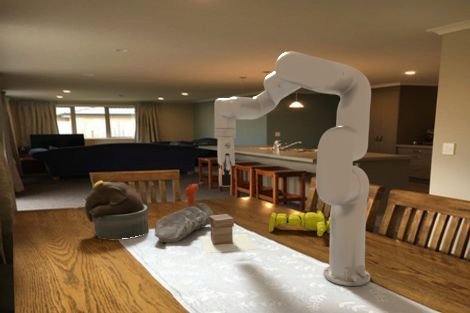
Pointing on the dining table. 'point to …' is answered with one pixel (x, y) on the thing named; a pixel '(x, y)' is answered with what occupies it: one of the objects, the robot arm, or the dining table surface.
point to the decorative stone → (182, 223)
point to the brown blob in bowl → (116, 211)
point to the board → (238, 244)
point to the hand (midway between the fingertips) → (225, 183)
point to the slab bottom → (221, 240)
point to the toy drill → (192, 193)
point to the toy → (302, 221)
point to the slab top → (221, 221)
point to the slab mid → (222, 231)
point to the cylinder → (221, 177)
